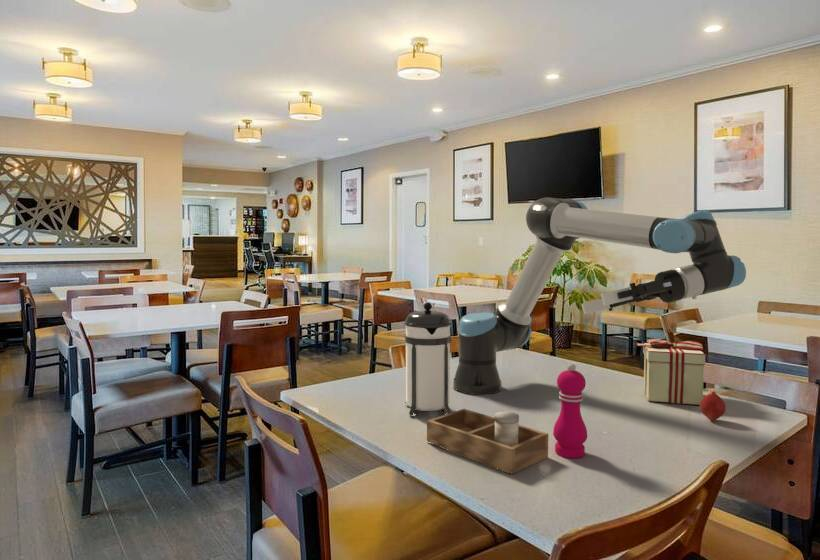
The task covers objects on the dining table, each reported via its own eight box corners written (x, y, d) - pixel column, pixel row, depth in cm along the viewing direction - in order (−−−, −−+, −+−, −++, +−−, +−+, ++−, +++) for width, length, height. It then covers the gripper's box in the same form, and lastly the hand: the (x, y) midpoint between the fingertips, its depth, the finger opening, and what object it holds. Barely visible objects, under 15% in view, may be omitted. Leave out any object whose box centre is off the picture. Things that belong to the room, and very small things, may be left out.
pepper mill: (588, 460, 116) (591, 368, 114) (553, 458, 117) (555, 366, 116) (584, 448, 123) (586, 360, 122) (551, 445, 124) (553, 359, 123)
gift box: (690, 389, 171) (692, 335, 170) (708, 407, 153) (710, 346, 152) (632, 386, 175) (634, 333, 174) (643, 403, 157) (645, 344, 156)
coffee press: (468, 409, 151) (468, 301, 149) (430, 423, 140) (430, 307, 138) (421, 397, 163) (421, 297, 161) (383, 409, 152) (382, 301, 149)
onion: (694, 417, 144) (695, 387, 143) (715, 416, 145) (716, 387, 144) (708, 424, 138) (709, 393, 138) (730, 424, 139) (731, 393, 138)
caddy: (426, 442, 126) (426, 403, 126) (464, 429, 135) (464, 392, 135) (511, 474, 109) (512, 429, 108) (548, 457, 118) (548, 415, 117)
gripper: (711, 289, 117) (617, 312, 116) (658, 307, 142) (580, 326, 140) (700, 256, 119) (607, 278, 117) (649, 280, 143) (572, 298, 142)
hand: (592, 304), depth 129 cm, fingers open, 13 cm apart
